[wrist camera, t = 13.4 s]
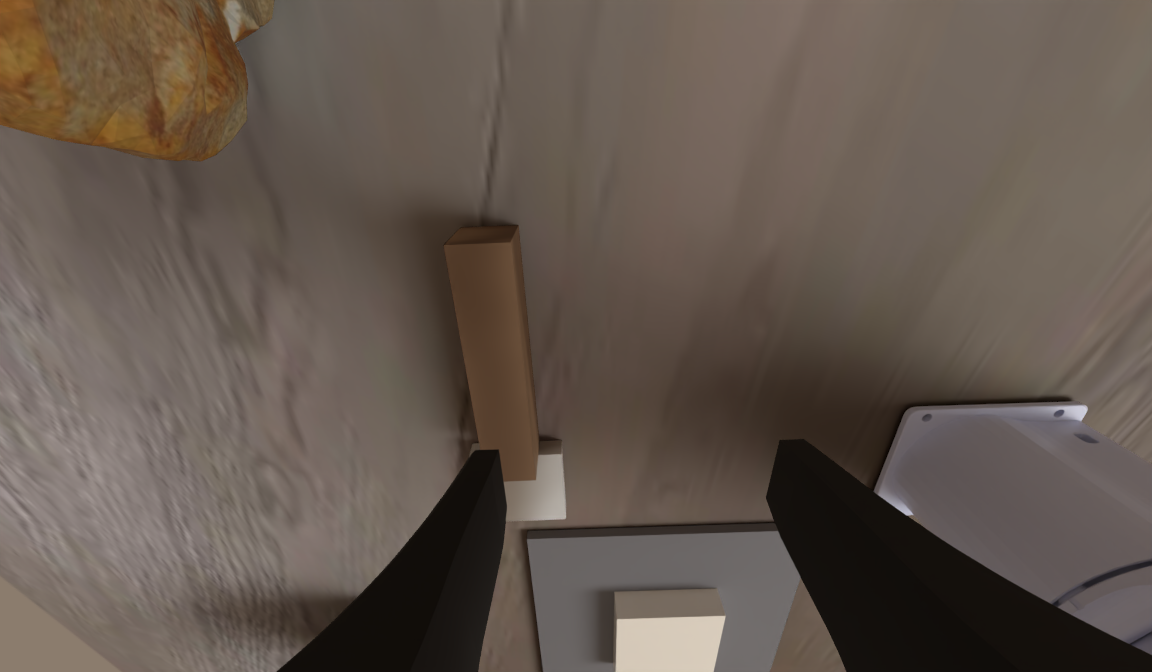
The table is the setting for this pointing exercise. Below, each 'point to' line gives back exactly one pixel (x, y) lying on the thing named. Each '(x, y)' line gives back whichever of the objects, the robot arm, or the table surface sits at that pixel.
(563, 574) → the mat
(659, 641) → the tile
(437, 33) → the table surface
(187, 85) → the rough brown rock
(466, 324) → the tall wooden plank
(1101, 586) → the robot arm
